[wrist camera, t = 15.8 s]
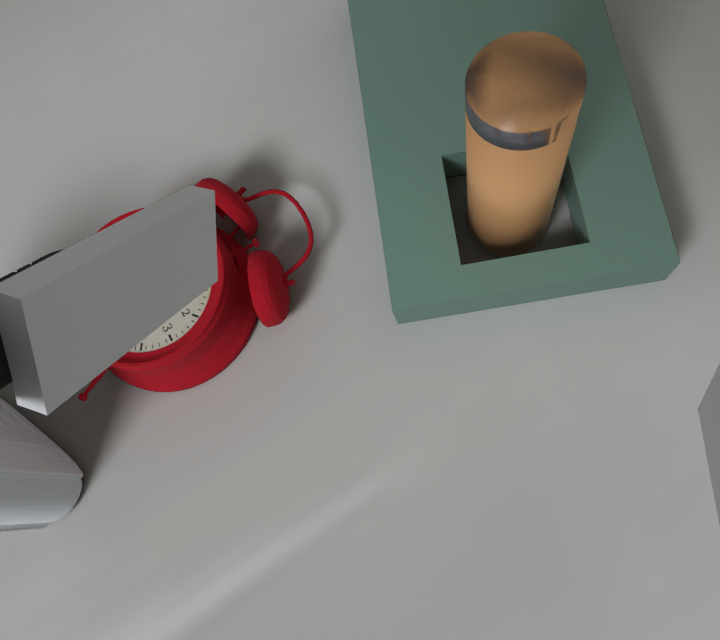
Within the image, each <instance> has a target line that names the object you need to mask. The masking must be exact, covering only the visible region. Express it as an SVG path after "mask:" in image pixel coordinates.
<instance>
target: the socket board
mask: <svg viewBox="0 0 720 640" xmlns="http://www.w3.org/2000/svg"><path fill="white" fill-rule="evenodd" d="M348 3H349V10H350V17H351V24H352V31H353V38H354V45H355V52H356V59H357V66H358V73H359V80H360V87H361V94H362V101H363V108H364V115H365V122H366V129H367V136H368V143H369V150H370V157H371V164H372V171H373V178H374V185H375V192H376V199H377V206H378V213H379V220H380V227H381V234H382V241H383V248H384V255H385V262H386V269H387V276H388V283H389V290H390V297H391V304H392V311H393V313H394V316H395V318H396V320H397V322H398V324H401V323H407V322H413V321H419V320H425V319H431V318H437V317H443V316H449V315H455V314H461V313H467V312H473V311H479V310H485V309H491V308H497V307H503V306H509V305H515V304H521V303H527V302H533V301H539V300H545V299H551V298H557V297H563V296H569V295H575V294H581V293H587V292H593V291H599V290H605V289H611V288H618V287H624V286H630V285H636V284H642V283H648V282H654V281H660V280H665V279H666V278H667V277H668V276H669V274H670V273H671V272H672V271H673V270H674V269H675V268H676V267H677V265H678V264H679V263H680V260H679V256H678V253H677V250H676V246H675V243H674V239H673V236H672V233H671V229H670V226H669V222H668V219H667V216H666V212H665V209H664V205H663V202H662V199H661V195H660V192H659V188H658V185H657V182H656V178H655V175H654V171H653V168H652V165H651V161H650V158H649V154H648V151H647V148H646V144H645V141H644V137H643V134H642V131H641V127H640V124H639V120H638V117H637V114H636V110H635V107H634V103H633V100H632V97H631V93H630V90H629V86H628V83H627V80H626V76H625V73H624V69H623V66H622V63H621V59H620V56H619V52H618V49H617V46H616V42H615V39H614V35H613V32H612V29H611V25H610V22H609V18H608V15H607V12H606V8H605V5H604V1H603V0H348ZM522 31H537V32H544V33H548V34H551V35H554V36H556V37H559V38H560V39H562V40H564V41H566V42H567V43H568V44H570V45H571V46H572V47H573V48H574V49H575V50H576V51H577V53H578V54H579V55H580V57H581V59H582V60H583V63H584V65H585V69H586V74H587V84H586V90H585V93H584V97H583V101H582V104H581V108H580V111H579V115H578V119H577V122H576V126H575V130H574V133H573V137H572V141H571V144H570V148H569V151H568V155H567V159H566V162H565V166H564V170H563V173H562V177H561V178H562V182H563V186H564V190H565V194H566V198H567V202H568V206H569V210H570V214H571V219H572V223H573V227H574V231H575V235H576V239H577V243H578V245H573V246H567V247H562V248H556V249H550V250H545V251H539V252H533V253H528V254H522V255H516V256H511V257H505V258H499V259H494V260H488V261H482V262H477V263H471V264H465V265H461V262H460V257H459V251H458V246H457V240H456V234H455V229H454V223H453V218H452V212H451V207H450V201H449V196H448V190H447V185H446V179H445V178H448V177H453V176H458V175H463V174H467V163H466V118H465V78H466V73H467V70H468V67H469V66H470V64H471V62H472V60H473V59H474V57H475V56H476V55H477V54H478V52H479V51H480V50H481V49H483V48H484V47H485V46H486V45H487V44H489V43H490V42H492V41H494V40H496V39H497V38H500V37H502V36H505V35H507V34H511V33H515V32H522Z"/></svg>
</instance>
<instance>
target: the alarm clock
mask: <svg viewBox="0 0 720 640" xmlns="http://www.w3.org/2000/svg"><path fill="white" fill-rule="evenodd" d="M195 186H197V187H201V188H206V189H210V190H214V191H215V211H216V212H217V213H218V214H219V215H220V216H221V217H222V218H224V216H225V215H226V214H227V215H228V216H230V217H231V218H232V219H233V220H234V221H235V222H236V223H237V224H238V226H237V228H236V229H235V230H234V231H233V232H232V233H231V234H230V235H229V234H228V233H226V232H225V231H223V230H221V229H219V228H217V227H216V241H217V269H218V281H217V282H216V283H214V284H213V285H212V286H211V287H209V288H208V289H207V290H205V291H204V292H203V293H202V294H200V295H199V296H198V297H197V298H195V299H194V300H193V301H192V302H190V303H189V304H188V305H187V306H185V307H184V308H183V309H181V310H180V311H179V312H178V313H176V314H175V315H174V316H173V317H171V318H170V319H169V320H168V321H166V322H165V323H164V324H162V325H161V326H160V327H159V328H157V329H156V330H155V331H154V332H152V333H151V334H150V335H149V336H147V337H146V338H145V339H143V340H142V341H141V342H140V343H138V344H137V345H136V346H135V347H133V348H132V349H131V350H130V351H128V352H127V353H126V354H125V355H123V356H122V357H121V358H119V359H118V360H117V361H116V362H114V363H113V364H112V365H111V366H109V367H108V368H109V369H110V370H111V371H112V372H113V373H114V374H115V375H116V376H117V377H119V378H120V379H122V380H123V381H125V382H127V383H129V384H131V385H133V386H136V387H139V388H142V389H145V390H149V391H155V392H174V391H181V390H185V389H189V388H192V387H195V386H197V385H200V384H202V383H204V382H206V381H208V380H210V379H212V378H213V377H215V376H216V375H218V374H219V373H220V372H222V371H223V370H224V369H225V368H226V367H227V366H228V365H229V364H230V363H232V362H233V361H234V359H235V358H236V357H237V356H238V355H239V353H240V352H241V350H242V349H243V348H244V346H245V345H246V343H247V341H248V339H249V337H250V335H251V333H252V331H253V328H254V326H255V323H256V319H257V316H258V318H259V319H260V321H261V322H262V324H263V325H265V326H266V327H271V326H275V325H278V324H280V323H282V322H283V321H284V320H285V319H286V317H287V314H288V312H289V304H290V296H289V288H288V286H291V285H295V284H296V282H295V280H288V281H287V279H288V275H290V274H291V273H292V272H294V271H295V270H296V269H297V268H298V267H300V266H301V265H302V264H303V263H304V262H305V260H306V259H307V258H308V256H309V255H310V253H311V250H312V246H313V231H312V227H311V224H310V222H309V219H308V217H307V215H306V213H305V211H304V210H303V208H302V207H301V206H300V204H299V203H298V202H297V200H295V199H294V198H293V197H292V196H291V195H290V194H288V193H286V192H285V191H282V190H278V189H270V190H266V191H262V192H260V193H257V194H255V195H252V196H250V197H247V198H245V197H241V195H242V194H243V193H244V192H245V191H246V188H245V187H241V188H240V189H239V190H238V191H237V192H235V191H233V190H232V189H231V188H230V187H228V186H227V185H225V184H223V183H222V182H220V181H218V180H216V179H213V178H206V179H202V180H201V181H200V182H198V183H197V184H196V185H195ZM268 194H279V195H282V196H285V197H286V198H288V199H289V200H290V201H291V202H292V203H293V204H294V205H295V206H296V207H297V209H298V210H299V212H300V213H301V215H302V217H303V219H304V221H305V223H306V226H307V230H308V235H309V243H308V247H307V250H306V252H305V254H304V255H303V257H302V258H301V259H300V260H299V261H298V262H297V263H296V264H295V265H294V266H293V267H292V268H290V269H289V270H288V271H287V272H286V273H285V272H284V269H283V267H282V265H281V263H280V262H279V260H278V259H277V257H276V256H275V255H274V254H273V253H271V252H268V251H265V250H257V251H253V252H250V253H249V255H248V254H247V252H246V250H248V249H250V248H251V247H253V246H255V248H257V247H259V246H260V244H259V242H258V240H257V238H254V239H252V242H253V243H251V244H249V245H248V246H246V247H244V248H243V247H242V245H240V244H239V243H238V242H237V241H236V240H235V239H234V238H233V236H234V235H235V234H236V233H237V231H238V230H239V229H240V228H241V229H242V230H243V231H244V232H245V233H246V234H247V236H246V238H248V239H251V238H252V237H253V236H254V234H255V233H256V231H257V227H258V222H257V218H256V216H255V214H254V212H253V211H252V210H251V208H250V207H249V205H248V204H247V203H246V202H249V201H251V200H254V199H256V198H259V197H261V196H265V195H268ZM142 209H144V208H142ZM142 209H138V210H134V211H131V212H128V213H126V214H124V215H121V216H119V217H117V218H116V219H114V220H112V221H111V222H109V223H108V224H106V225H105V226H104V227H102V228H101V229H100V230H99V231H101V230H103V229H105V228H107V227H109V226H111V225H113V224H115V223H117V222H119V221H121V220H123V219H125V218H127V217H129V216H131V215H133V214H134V213H136V212H138V211H140V210H142ZM99 231H98V232H99ZM108 368H107V369H106V370H104V371H103V372H102V373H100V374H99V375H98V376H97V377H95V378H94V379H93V380H92V382H91V383H90V385H89V386H88V387H87V389H86V390H85V392H84V393H80V395H79V399H80V400H82V401H85V400H87V398H88V397H87V394H88V393H89V392H90V390H91V389H92V388H93V387H94V385H95V384H96V383H97V382H98V381H99V380H100V379H101V378H102V376H103V375H104V374H105V372H106V371H107V370H108Z"/></svg>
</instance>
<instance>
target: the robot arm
mask: <svg viewBox="0 0 720 640" xmlns="http://www.w3.org/2000/svg"><path fill="white" fill-rule="evenodd" d="M217 281H218V269H217V241H216V212H215V191H214V190H210V189H206V188H201V187H197V186H192V185H189V186H187V187H185V188H183V189H181V190H179V191H177V192H175V193H173V194H171V195H170V196H168V197H166V198H164V199H162V200H160V201H158V202H156V203H154V204H152V205H150V206H148V207H146V208H144V209H142V210H140V211H138V212H136V213H134V214H133V215H131V216H129V217H127V218H125V219H123V220H121V221H119V222H117V223H115V224H113V225H111V226H109V227H107V228H105V229H103V230H101V231H99V232H97V233H96V234H94V235H92V236H90V237H88V238H86V239H84V240H82V241H80V242H78V243H76V244H74V245H72V246H70V247H68V248H66V249H64V250H60V251H56V252H53V253H50V254H48V255H46V256H44V257H42V258H40V259H38V260H36V261H34V262H32V265H30V264H28V265H26V266H24V267H22V268H20V269H18V271H17V272H12V273H10V274H8V275H6V276H4V277H2V278H0V389H2V388H3V387H5V386H6V385H7V384H9V383H10V382H12V386H13V390H14V394H15V397H16V401H17V405H19V406H22V407H25V408H28V409H30V410H33V411H36V412H39V413H42V414H45V415H49V414H50V413H51V412H52V411H54V410H55V409H56V408H57V407H59V406H60V405H61V404H63V403H64V402H65V401H66V400H68V399H69V398H70V397H71V396H73V395H74V394H75V393H76V392H78V391H79V390H80V389H81V388H83V387H84V386H85V385H87V384H88V383H89V382H90V381H92V380H93V379H94V378H95V377H97V376H98V375H99V374H100V373H102V372H103V371H104V370H106V369H107V368H108V367H109V366H111V365H112V364H113V363H114V362H116V361H117V360H118V359H119V358H121V357H122V356H123V355H125V354H126V353H127V352H128V351H130V350H131V349H132V348H133V347H135V346H136V345H137V344H138V343H140V342H141V341H142V340H143V339H145V338H146V337H147V336H149V335H150V334H151V333H152V332H154V331H155V330H156V329H157V328H159V327H160V326H161V325H162V324H164V323H165V322H166V321H168V320H169V319H170V318H171V317H173V316H174V315H175V314H176V313H178V312H179V311H180V310H181V309H183V308H184V307H185V306H187V305H188V304H189V303H190V302H192V301H193V300H194V299H195V298H197V297H198V296H199V295H200V294H202V293H203V292H204V291H205V290H207V289H208V288H209V287H211V286H212V285H213V284H214V283H216V282H217ZM0 407H1V406H0ZM698 412H699V418H700V423H701V428H702V434H703V439H704V444H705V450H706V455H707V460H708V466H709V471H710V476H711V482H712V487H713V492H714V498H715V503H716V508H717V514H718V519H719V524H720V364H719V366H718V368H717V370H716V372H715V374H714V376H713V378H712V380H711V382H710V385H709V387H708V389H707V391H706V393H705V395H704V397H703V399H702V401H701V403H700V405H699V407H698Z"/></svg>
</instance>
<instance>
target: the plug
mask: <svg viewBox="0 0 720 640" xmlns="http://www.w3.org/2000/svg"><path fill="white" fill-rule="evenodd" d="M586 84H587V74H586V69H585V65H584V63H583V60H582V59H581V57H580V55H579V54H578V53H577V51H576V50H575V49H574V48H573V47H572V46H571V45H570V44H568V43H567V42H566V41H564V40H562V39H560V38H559V37H556V36H554V35H551V34H548V33H544V32H537V31H522V32H515V33H511V34H507V35H505V36H502V37H500V38H497V39H496V40H494V41H492V42H490V43H489V44H487V45H486V46H485V47H484V48H483V49H481V50H480V51H479V52H478V54H477V55H476V56H475V57H474V59H473V60H472V62H471V64H470V66H469V67H468V70H467V73H466V78H465V118H466V163H467V207H468V226H469V230H470V232H471V235H472V236H473V238H474V239H475V241H476V242H477V243H478V244H479V245H480V246H482V247H483V248H484V249H486V250H488V251H490V252H493V253H496V254H500V255H515V254H520V253H523V252H525V251H527V250H529V249H531V248H533V247H534V246H535V245H536V244H538V243H539V242H540V240H541V239H542V238H543V236H544V235H545V233H546V231H547V228H548V224H549V220H550V217H551V213H552V210H553V206H554V202H555V199H556V195H557V191H558V188H559V184H560V180H561V177H562V173H563V170H564V166H565V162H566V159H567V155H568V151H569V148H570V144H571V141H572V137H573V133H574V130H575V126H576V122H577V119H578V115H579V111H580V108H581V104H582V101H583V97H584V93H585V90H586Z"/></svg>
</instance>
